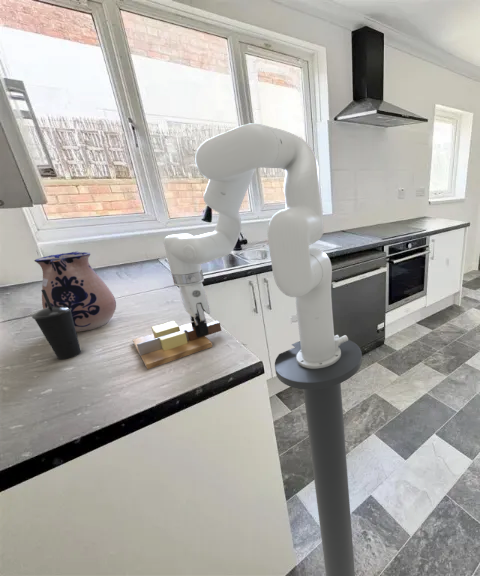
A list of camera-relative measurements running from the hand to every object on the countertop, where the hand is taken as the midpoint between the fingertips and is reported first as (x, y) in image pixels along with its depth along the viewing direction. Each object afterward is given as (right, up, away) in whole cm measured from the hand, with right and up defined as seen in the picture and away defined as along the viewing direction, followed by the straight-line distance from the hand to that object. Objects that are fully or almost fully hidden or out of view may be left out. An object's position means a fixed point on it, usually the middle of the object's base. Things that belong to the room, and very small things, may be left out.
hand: (201, 333), depth 95 cm
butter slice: (-4, -3, -6) cm, 8 cm away
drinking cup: (-34, -5, -6) cm, 35 cm away
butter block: (-10, -1, 0) cm, 10 cm away
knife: (-4, -2, -3) cm, 5 cm away
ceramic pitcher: (-47, +1, +13) cm, 48 cm away
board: (-8, -3, -2) cm, 8 cm away
